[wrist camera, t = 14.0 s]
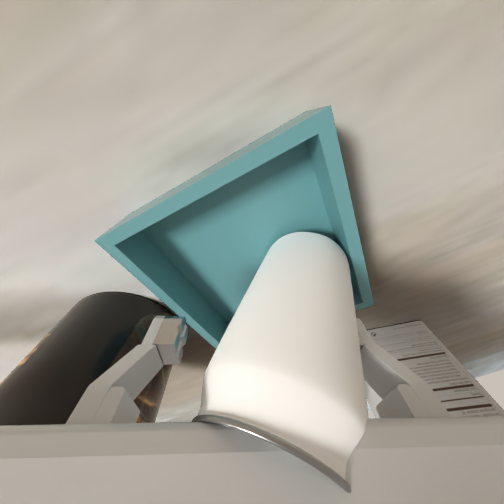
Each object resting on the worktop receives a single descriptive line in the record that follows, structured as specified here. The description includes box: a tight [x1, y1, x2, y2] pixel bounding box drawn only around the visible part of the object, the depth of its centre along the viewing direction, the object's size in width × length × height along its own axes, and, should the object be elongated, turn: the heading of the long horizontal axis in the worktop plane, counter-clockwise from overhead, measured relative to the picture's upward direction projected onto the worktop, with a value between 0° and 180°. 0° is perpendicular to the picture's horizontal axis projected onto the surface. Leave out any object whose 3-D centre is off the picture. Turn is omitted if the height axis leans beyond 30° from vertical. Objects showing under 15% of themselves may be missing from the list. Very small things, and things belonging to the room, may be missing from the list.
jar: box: [0, 292, 174, 426], centre depth 17 cm, size 12×12×15 cm
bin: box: [95, 105, 374, 349], centre depth 16 cm, size 15×15×4 cm
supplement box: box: [364, 320, 504, 419], centre depth 21 cm, size 9×9×15 cm
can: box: [192, 232, 368, 493], centre depth 11 cm, size 6×6×12 cm
